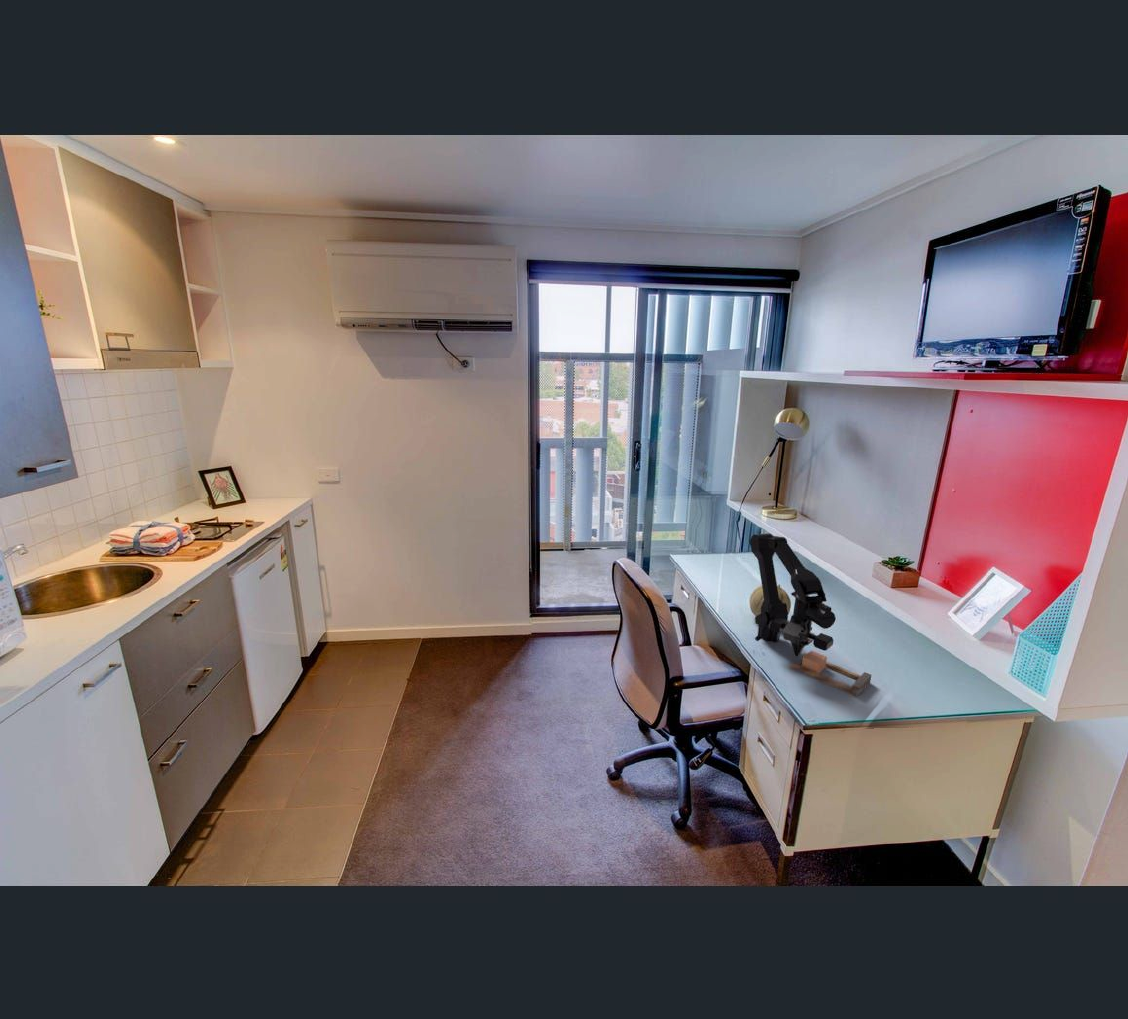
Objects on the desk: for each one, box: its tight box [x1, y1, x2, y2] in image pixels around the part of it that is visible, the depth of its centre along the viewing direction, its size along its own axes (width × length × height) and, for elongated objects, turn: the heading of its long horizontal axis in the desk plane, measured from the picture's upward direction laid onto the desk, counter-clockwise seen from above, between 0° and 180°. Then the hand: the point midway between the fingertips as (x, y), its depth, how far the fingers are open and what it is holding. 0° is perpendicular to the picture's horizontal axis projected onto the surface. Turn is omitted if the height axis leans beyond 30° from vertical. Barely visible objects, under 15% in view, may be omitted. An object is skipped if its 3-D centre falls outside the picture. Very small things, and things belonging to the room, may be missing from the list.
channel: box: [790, 652, 872, 697], centre depth 156 cm, size 20×10×4 cm, turn 41°
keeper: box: [801, 650, 828, 674], centre depth 159 cm, size 5×6×4 cm
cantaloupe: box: [749, 584, 792, 617], centre depth 190 cm, size 15×15×15 cm
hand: (796, 655), depth 163 cm, fingers closed
